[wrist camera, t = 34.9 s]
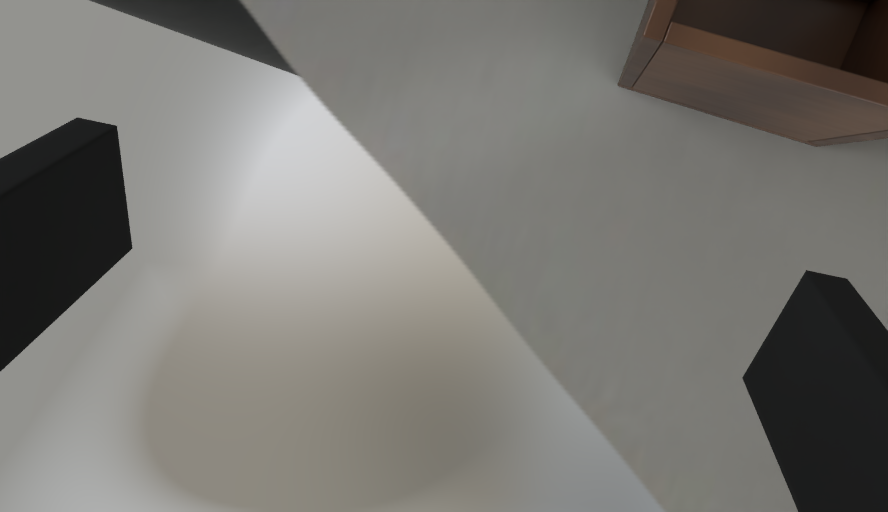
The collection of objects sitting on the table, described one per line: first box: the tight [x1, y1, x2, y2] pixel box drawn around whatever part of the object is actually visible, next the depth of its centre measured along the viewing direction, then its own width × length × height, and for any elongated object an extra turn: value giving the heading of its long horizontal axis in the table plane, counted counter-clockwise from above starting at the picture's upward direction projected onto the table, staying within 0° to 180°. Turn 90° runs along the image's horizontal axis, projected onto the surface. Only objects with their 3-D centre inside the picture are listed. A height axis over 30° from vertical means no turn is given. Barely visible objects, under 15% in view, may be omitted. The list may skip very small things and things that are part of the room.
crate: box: [618, 0, 888, 147], centre depth 21 cm, size 9×6×10 cm
